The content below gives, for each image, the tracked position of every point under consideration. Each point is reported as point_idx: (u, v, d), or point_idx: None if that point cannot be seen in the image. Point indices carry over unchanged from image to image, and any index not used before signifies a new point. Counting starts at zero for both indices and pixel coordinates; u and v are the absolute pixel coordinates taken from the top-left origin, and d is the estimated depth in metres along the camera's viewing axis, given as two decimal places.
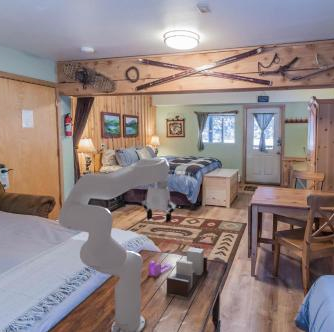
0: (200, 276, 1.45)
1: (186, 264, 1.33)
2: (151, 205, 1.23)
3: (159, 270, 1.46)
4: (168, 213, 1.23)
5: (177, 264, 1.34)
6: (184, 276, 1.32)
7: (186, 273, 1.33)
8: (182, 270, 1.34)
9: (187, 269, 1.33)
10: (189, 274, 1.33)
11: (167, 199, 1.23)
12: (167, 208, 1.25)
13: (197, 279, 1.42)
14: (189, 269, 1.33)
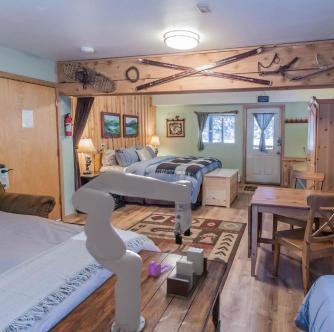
0: (200, 276, 1.45)
1: (186, 264, 1.33)
2: (186, 227, 1.28)
3: (159, 270, 1.46)
4: (190, 227, 1.37)
5: (177, 264, 1.34)
6: (184, 276, 1.32)
7: (186, 273, 1.33)
8: (182, 270, 1.34)
9: (187, 269, 1.33)
10: (189, 274, 1.33)
11: None
12: None
13: (197, 279, 1.42)
14: (189, 269, 1.33)
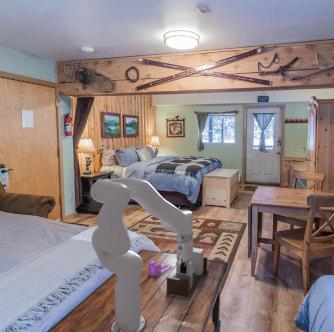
0: (200, 276, 1.45)
1: (186, 264, 1.33)
2: (188, 257, 1.31)
3: (159, 270, 1.46)
4: (188, 261, 1.36)
5: (177, 264, 1.34)
6: (184, 276, 1.32)
7: (186, 273, 1.33)
8: None
9: (187, 269, 1.33)
10: (189, 274, 1.33)
11: None
12: None
13: (197, 279, 1.42)
14: (189, 269, 1.33)
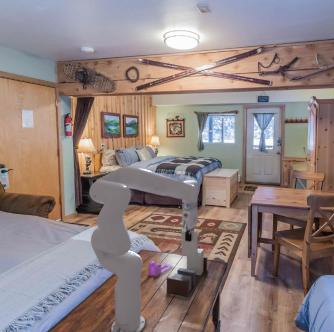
0: (200, 276, 1.45)
1: (191, 233, 1.36)
2: (193, 225, 1.34)
3: (159, 270, 1.46)
4: (193, 230, 1.39)
5: (182, 233, 1.37)
6: (184, 276, 1.32)
7: (191, 242, 1.37)
8: None
9: (192, 238, 1.36)
10: (194, 243, 1.36)
11: None
12: None
13: (197, 279, 1.42)
14: (194, 237, 1.36)
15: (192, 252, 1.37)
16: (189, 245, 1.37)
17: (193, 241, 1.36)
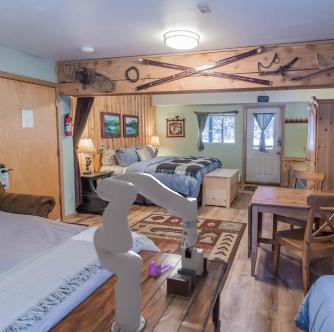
0: (200, 276, 1.45)
1: (191, 250, 1.37)
2: (192, 242, 1.35)
3: (159, 270, 1.46)
4: (193, 247, 1.40)
5: (182, 250, 1.39)
6: (184, 276, 1.32)
7: (191, 259, 1.38)
8: None
9: (192, 255, 1.38)
10: (194, 260, 1.38)
11: None
12: None
13: (197, 279, 1.42)
14: (194, 255, 1.37)
15: (191, 269, 1.39)
16: (189, 262, 1.39)
17: (193, 258, 1.38)
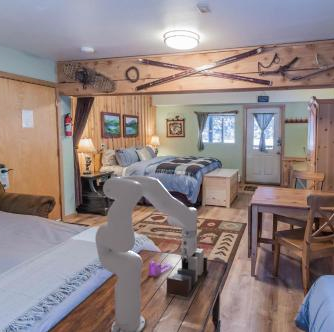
0: (200, 276, 1.45)
1: (191, 259, 1.38)
2: (192, 252, 1.36)
3: (159, 270, 1.46)
4: (194, 252, 1.44)
5: None
6: (184, 276, 1.32)
7: (191, 268, 1.39)
8: None
9: (192, 264, 1.38)
10: (194, 269, 1.38)
11: None
12: None
13: (197, 279, 1.42)
14: (194, 264, 1.38)
15: None
16: None
17: (193, 267, 1.38)
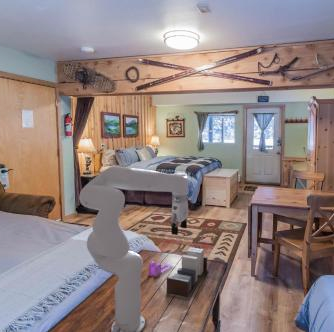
0: (200, 276, 1.45)
1: (191, 259, 1.38)
2: (182, 218, 1.32)
3: (159, 270, 1.46)
4: (186, 219, 1.40)
5: (183, 259, 1.39)
6: (184, 276, 1.32)
7: (191, 268, 1.39)
8: (187, 265, 1.39)
9: (192, 264, 1.38)
10: (194, 269, 1.38)
11: None
12: None
13: (197, 279, 1.42)
14: (194, 264, 1.38)
15: None
16: None
17: (193, 267, 1.38)
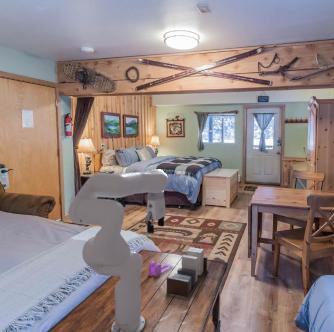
0: (200, 276, 1.45)
1: (191, 259, 1.38)
2: (158, 216, 1.28)
3: (159, 270, 1.46)
4: (163, 217, 1.37)
5: (183, 259, 1.39)
6: (184, 276, 1.32)
7: (191, 268, 1.39)
8: (187, 265, 1.39)
9: (192, 264, 1.38)
10: (194, 269, 1.38)
11: None
12: None
13: (197, 279, 1.42)
14: (194, 264, 1.38)
15: None
16: None
17: (193, 267, 1.38)
